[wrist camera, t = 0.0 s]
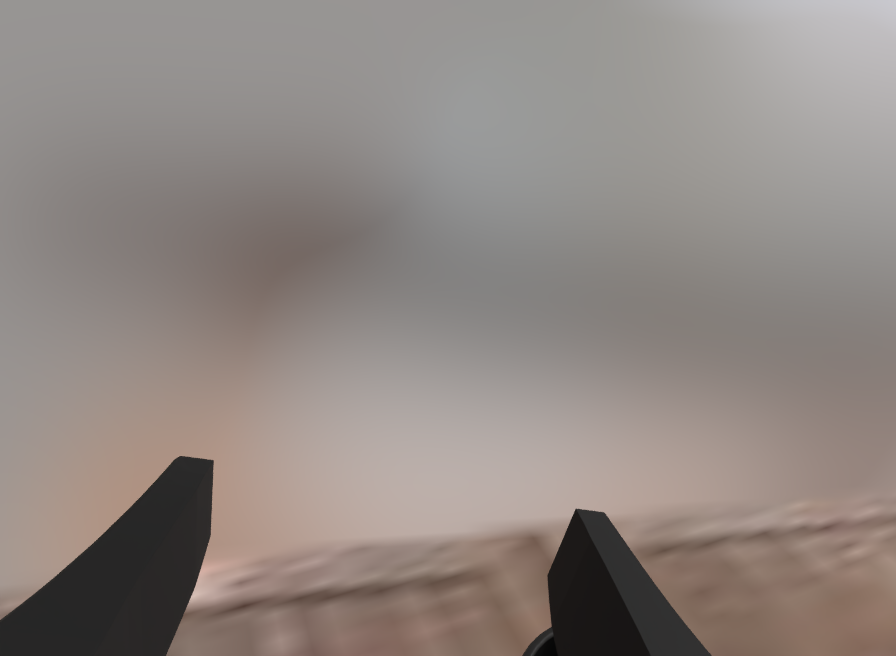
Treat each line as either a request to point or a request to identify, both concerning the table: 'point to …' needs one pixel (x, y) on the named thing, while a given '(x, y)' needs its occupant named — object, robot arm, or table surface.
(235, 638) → the table surface
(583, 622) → the robot arm
